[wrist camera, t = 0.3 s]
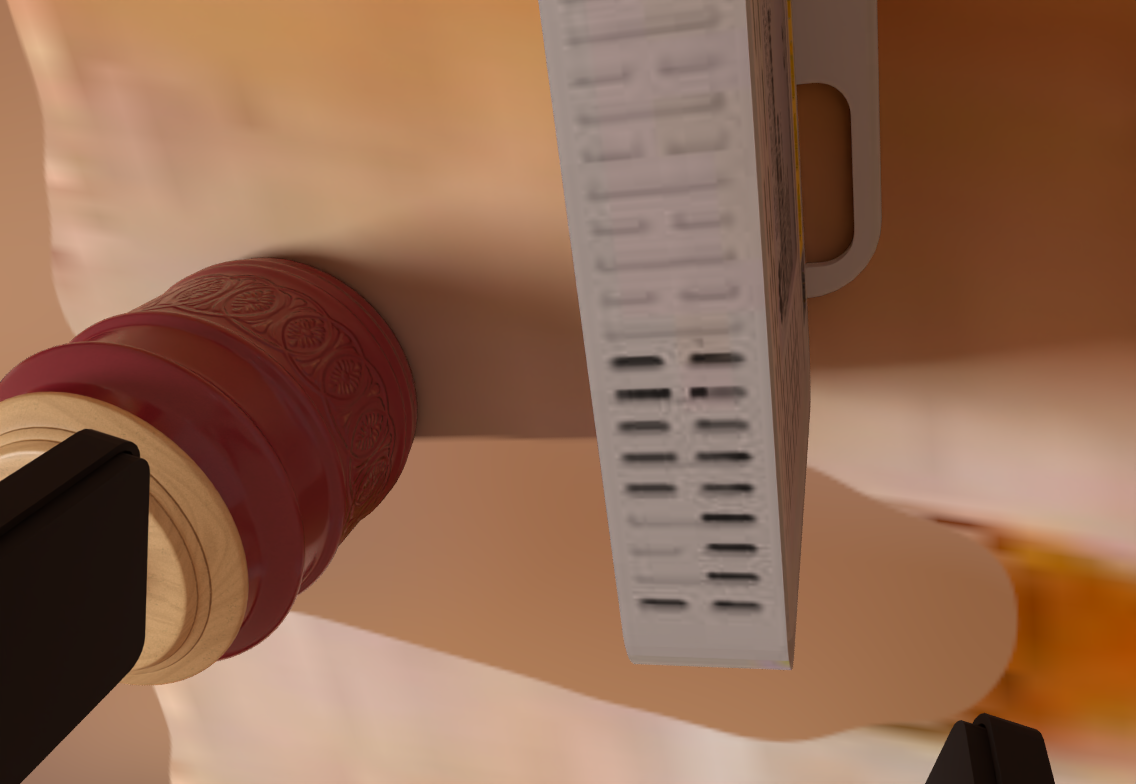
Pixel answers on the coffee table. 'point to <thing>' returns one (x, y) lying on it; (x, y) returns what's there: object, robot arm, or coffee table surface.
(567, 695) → the coffee table surface
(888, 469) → the coffee table surface
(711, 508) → the network device
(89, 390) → the canister
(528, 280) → the coffee table surface
